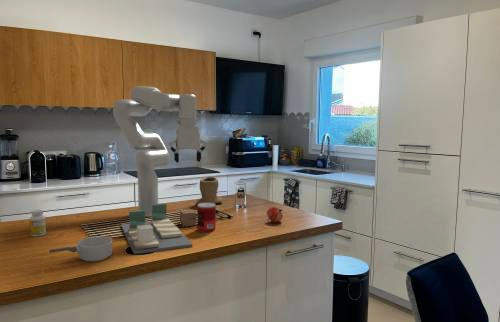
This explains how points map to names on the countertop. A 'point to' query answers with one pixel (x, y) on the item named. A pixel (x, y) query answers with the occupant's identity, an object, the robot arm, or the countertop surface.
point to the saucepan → (91, 248)
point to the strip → (163, 222)
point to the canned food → (206, 217)
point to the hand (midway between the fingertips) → (187, 161)
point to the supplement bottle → (37, 223)
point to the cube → (187, 217)
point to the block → (144, 233)
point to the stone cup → (209, 191)
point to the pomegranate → (274, 214)
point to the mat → (163, 242)
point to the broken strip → (136, 220)
